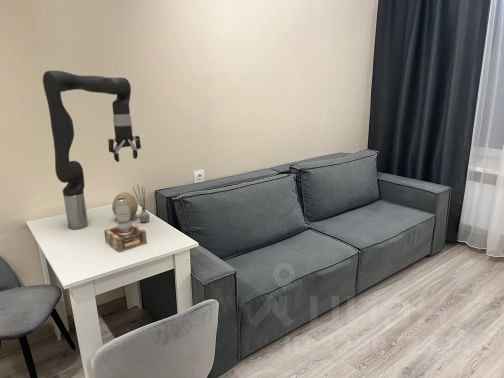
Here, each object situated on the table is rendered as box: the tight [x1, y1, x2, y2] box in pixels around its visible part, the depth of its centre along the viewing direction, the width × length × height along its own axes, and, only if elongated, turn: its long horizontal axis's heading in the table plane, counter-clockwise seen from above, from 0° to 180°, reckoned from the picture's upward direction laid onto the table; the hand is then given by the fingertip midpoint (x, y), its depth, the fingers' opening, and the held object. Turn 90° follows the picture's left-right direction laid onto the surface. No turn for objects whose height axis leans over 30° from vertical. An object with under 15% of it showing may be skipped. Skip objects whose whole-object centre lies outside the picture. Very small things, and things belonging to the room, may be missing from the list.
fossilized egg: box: [111, 191, 139, 220], centre depth 198 cm, size 13×13×15 cm
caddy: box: [103, 222, 148, 253], centre depth 170 cm, size 14×13×6 cm
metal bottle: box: [115, 198, 133, 242], centre depth 168 cm, size 6×7×20 cm
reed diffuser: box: [132, 184, 150, 223], centre depth 193 cm, size 10×7×20 cm
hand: (126, 159), depth 172 cm, fingers open, 8 cm apart
